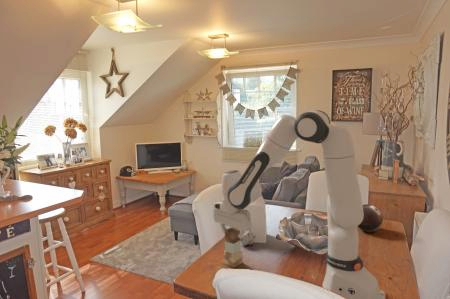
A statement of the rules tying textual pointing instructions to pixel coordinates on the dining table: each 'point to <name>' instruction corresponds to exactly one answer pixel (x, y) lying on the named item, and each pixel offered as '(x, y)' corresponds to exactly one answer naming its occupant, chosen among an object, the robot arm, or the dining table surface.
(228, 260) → the oak base block
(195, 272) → the dining table surface
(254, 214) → the milk
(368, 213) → the wooden sphere
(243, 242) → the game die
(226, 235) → the walnut block
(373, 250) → the dining table surface
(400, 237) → the dining table surface
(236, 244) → the sage block
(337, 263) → the robot arm
